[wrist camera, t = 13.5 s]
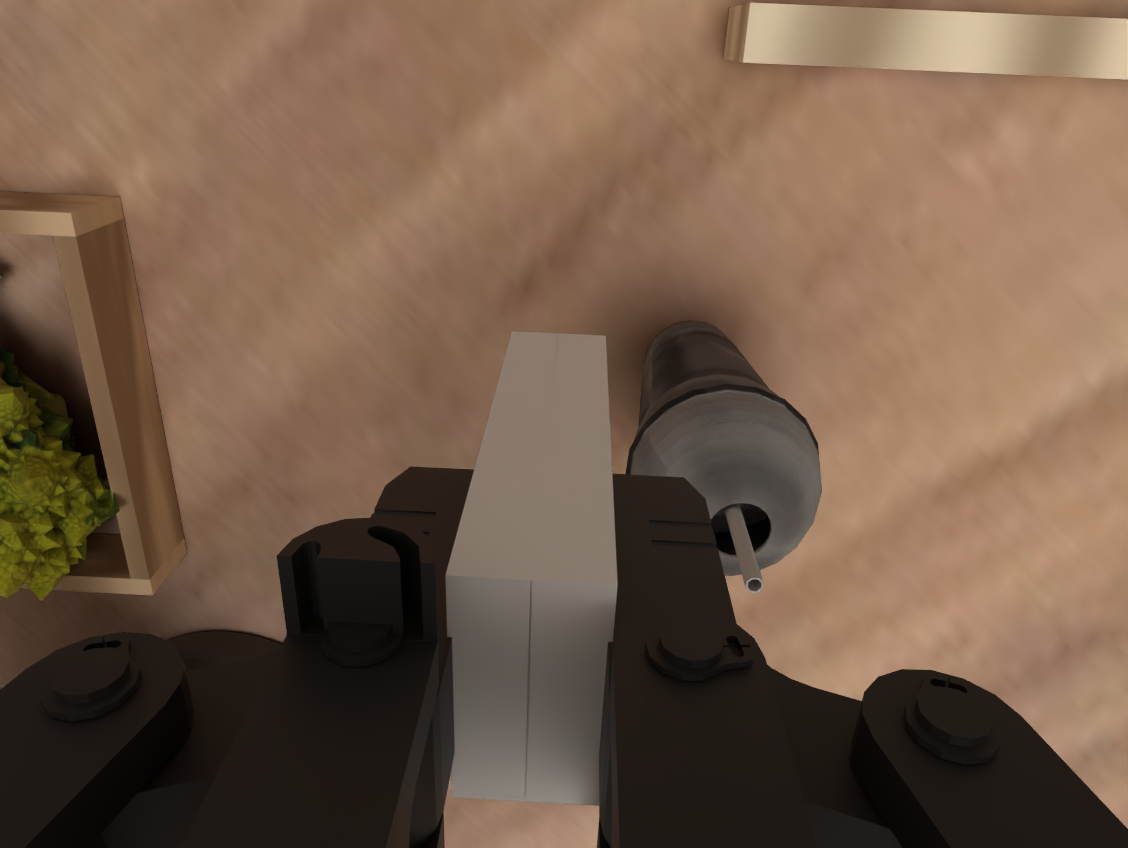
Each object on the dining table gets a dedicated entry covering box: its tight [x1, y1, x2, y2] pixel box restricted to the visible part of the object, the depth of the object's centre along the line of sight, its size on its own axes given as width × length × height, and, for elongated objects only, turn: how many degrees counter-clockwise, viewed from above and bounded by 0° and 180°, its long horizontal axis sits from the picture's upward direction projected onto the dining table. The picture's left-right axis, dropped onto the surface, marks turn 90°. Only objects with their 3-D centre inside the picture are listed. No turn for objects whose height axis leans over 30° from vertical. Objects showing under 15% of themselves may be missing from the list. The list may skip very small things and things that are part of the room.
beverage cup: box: [626, 321, 822, 593], centre depth 32 cm, size 7×7×20 cm
